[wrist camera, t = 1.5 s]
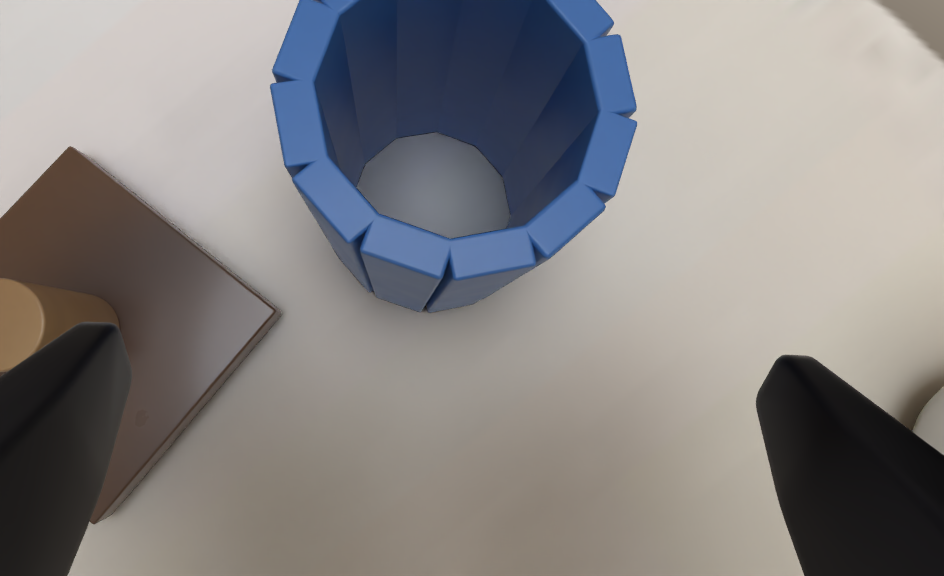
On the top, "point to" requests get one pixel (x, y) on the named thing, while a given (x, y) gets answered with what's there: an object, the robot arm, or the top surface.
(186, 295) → the stand
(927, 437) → the plastic bottle
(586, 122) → the blue ribbed vase
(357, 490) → the top surface
